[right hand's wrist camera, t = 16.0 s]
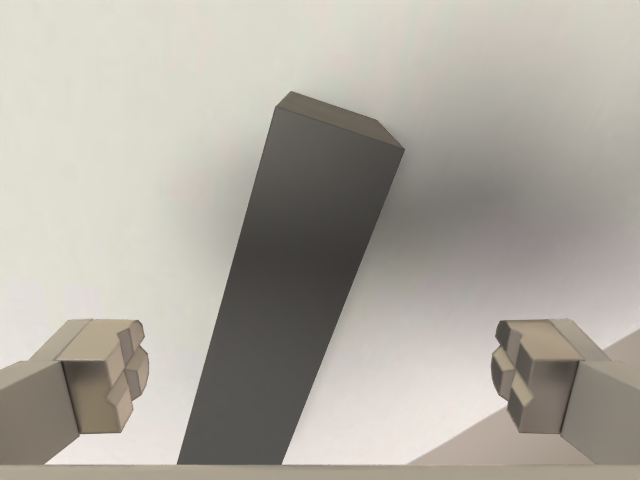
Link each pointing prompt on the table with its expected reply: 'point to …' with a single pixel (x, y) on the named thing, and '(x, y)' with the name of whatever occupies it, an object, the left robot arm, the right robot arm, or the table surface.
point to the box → (288, 279)
